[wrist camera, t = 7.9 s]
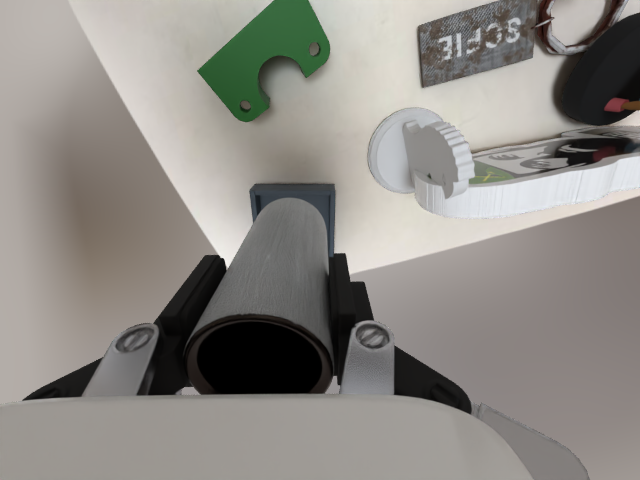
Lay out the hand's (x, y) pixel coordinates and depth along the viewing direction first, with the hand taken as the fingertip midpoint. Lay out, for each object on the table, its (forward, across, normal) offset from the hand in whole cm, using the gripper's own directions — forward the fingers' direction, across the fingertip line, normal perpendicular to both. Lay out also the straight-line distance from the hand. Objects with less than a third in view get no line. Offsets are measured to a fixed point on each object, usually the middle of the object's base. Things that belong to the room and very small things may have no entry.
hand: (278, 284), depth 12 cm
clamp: (+25, +3, -11) cm, 27 cm away
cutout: (+24, -24, -1) cm, 34 cm away
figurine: (+23, -33, -10) cm, 42 cm away
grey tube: (+6, 0, 0) cm, 6 cm away
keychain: (+24, -22, -14) cm, 36 cm away
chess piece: (+24, -13, -2) cm, 28 cm away
